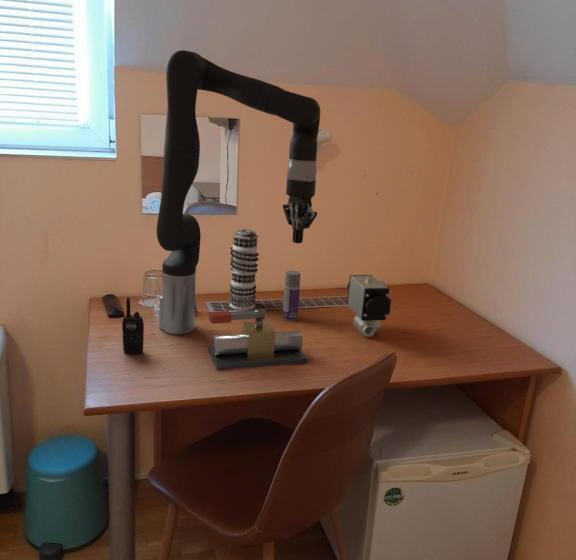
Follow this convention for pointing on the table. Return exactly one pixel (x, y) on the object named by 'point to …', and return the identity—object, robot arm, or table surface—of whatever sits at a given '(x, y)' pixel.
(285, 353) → the valve board
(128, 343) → the two-way radio
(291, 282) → the container
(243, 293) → the black and white cylinder
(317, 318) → the table surface
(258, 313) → the valve lever
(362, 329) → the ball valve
